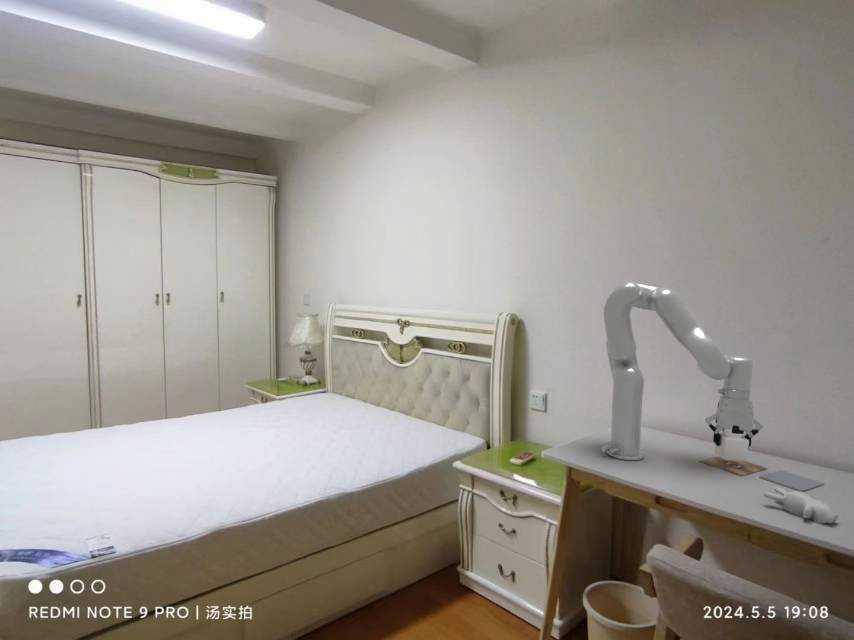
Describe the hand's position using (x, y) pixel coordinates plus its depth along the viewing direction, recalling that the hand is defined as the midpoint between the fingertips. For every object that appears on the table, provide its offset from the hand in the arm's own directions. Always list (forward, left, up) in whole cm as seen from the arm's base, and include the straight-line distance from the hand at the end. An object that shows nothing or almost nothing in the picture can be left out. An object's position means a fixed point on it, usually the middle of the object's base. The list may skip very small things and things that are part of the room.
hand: (731, 446), depth 166 cm
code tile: (+1, -1, -6) cm, 6 cm away
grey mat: (+4, -17, -6) cm, 18 cm away
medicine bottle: (0, 0, -4) cm, 4 cm away
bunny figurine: (-18, -29, -7) cm, 35 cm away
